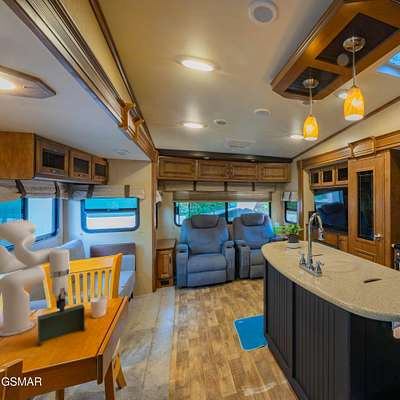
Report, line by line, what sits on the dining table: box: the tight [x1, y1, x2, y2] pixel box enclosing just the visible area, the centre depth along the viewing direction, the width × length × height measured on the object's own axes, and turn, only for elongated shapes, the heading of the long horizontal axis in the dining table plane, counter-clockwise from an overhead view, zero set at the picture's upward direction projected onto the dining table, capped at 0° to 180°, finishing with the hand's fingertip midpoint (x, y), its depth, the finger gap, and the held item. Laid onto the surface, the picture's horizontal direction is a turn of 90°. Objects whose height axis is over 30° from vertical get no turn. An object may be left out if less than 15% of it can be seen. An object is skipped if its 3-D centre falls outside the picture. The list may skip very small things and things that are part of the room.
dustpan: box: [37, 302, 86, 347], centre depth 127 cm, size 5×17×18 cm, turn 142°
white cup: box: [90, 295, 108, 319], centre depth 149 cm, size 8×8×10 cm
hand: (61, 307), depth 129 cm, fingers closed
